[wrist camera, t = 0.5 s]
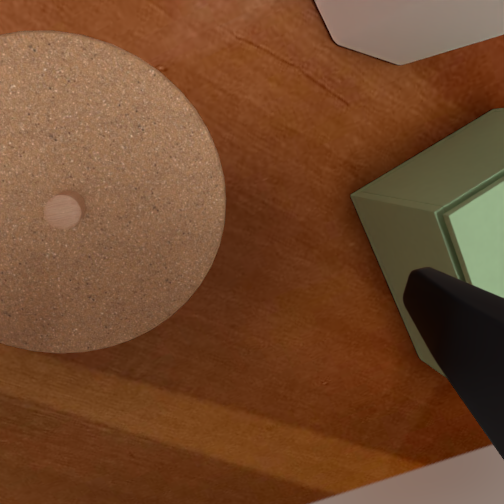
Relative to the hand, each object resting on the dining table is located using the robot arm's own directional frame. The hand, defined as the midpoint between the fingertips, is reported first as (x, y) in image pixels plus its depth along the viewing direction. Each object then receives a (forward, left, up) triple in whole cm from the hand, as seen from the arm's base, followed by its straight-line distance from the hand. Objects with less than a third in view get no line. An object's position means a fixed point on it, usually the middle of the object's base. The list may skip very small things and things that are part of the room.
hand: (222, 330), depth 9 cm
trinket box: (+3, +2, -15) cm, 16 cm away
